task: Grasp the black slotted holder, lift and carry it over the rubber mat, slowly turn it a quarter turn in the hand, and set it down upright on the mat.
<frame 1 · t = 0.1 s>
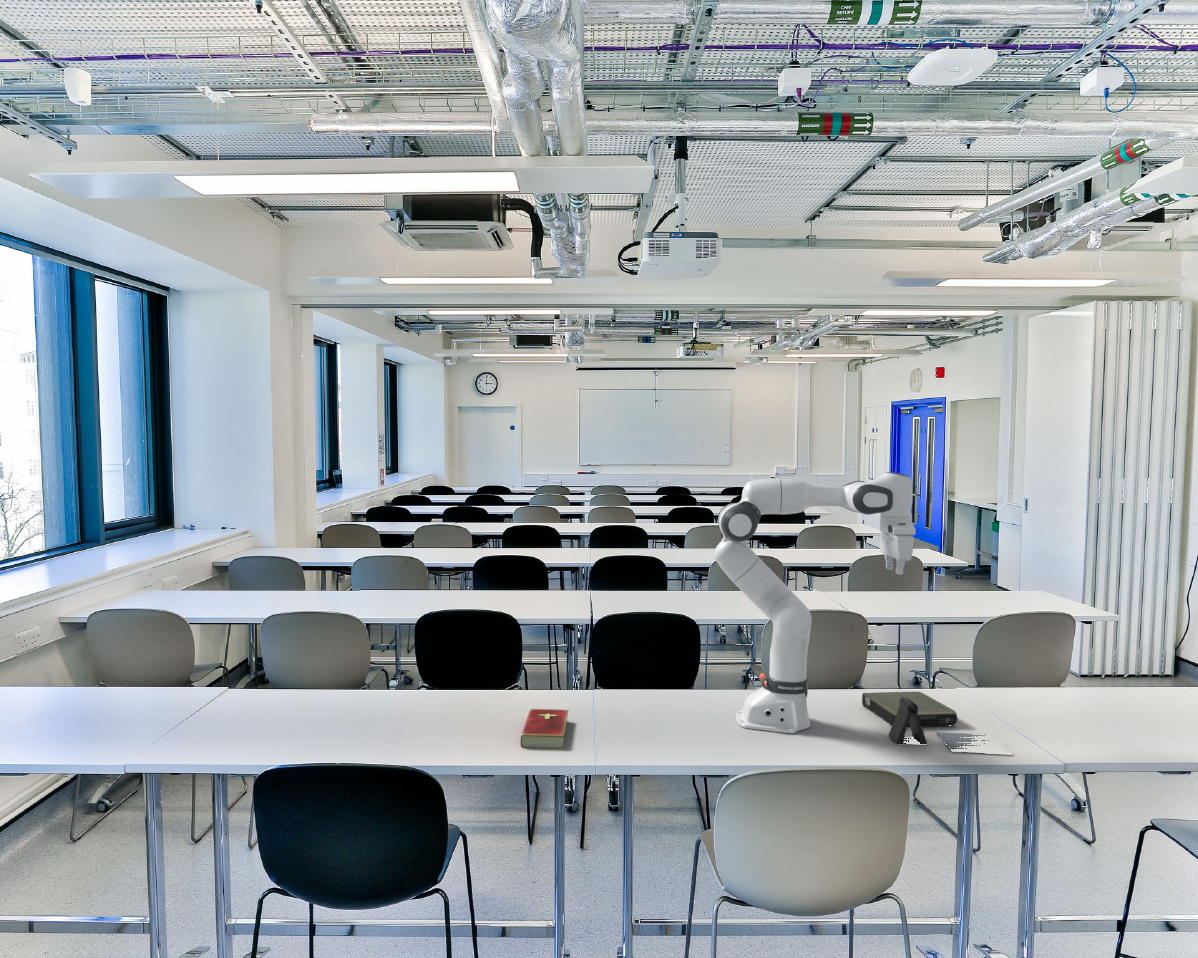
hand: (894, 571, 225), 48 cm above the table, fingers open, 8 cm apart
rubber mat: (971, 744, 215), on the table
hardcover book: (545, 735, 218), on the table
network switch: (908, 717, 238), on the table
black slotted holder: (907, 741, 217), on the table
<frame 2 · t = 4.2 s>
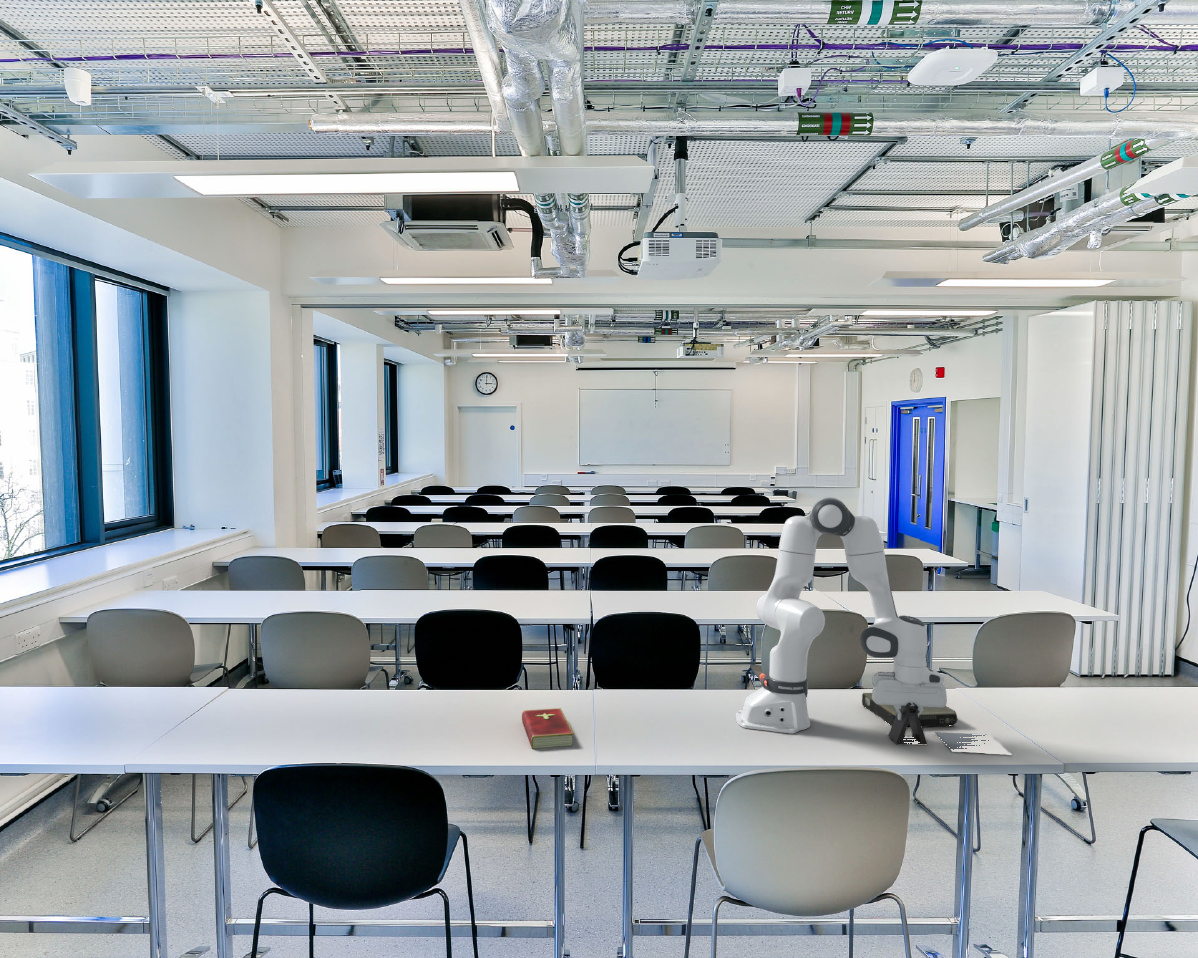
hand: (908, 720, 216), 6 cm above the table, fingers closed on black slotted holder, 3 cm apart
black slotted holder: (907, 741, 217), on the table, touching gripper
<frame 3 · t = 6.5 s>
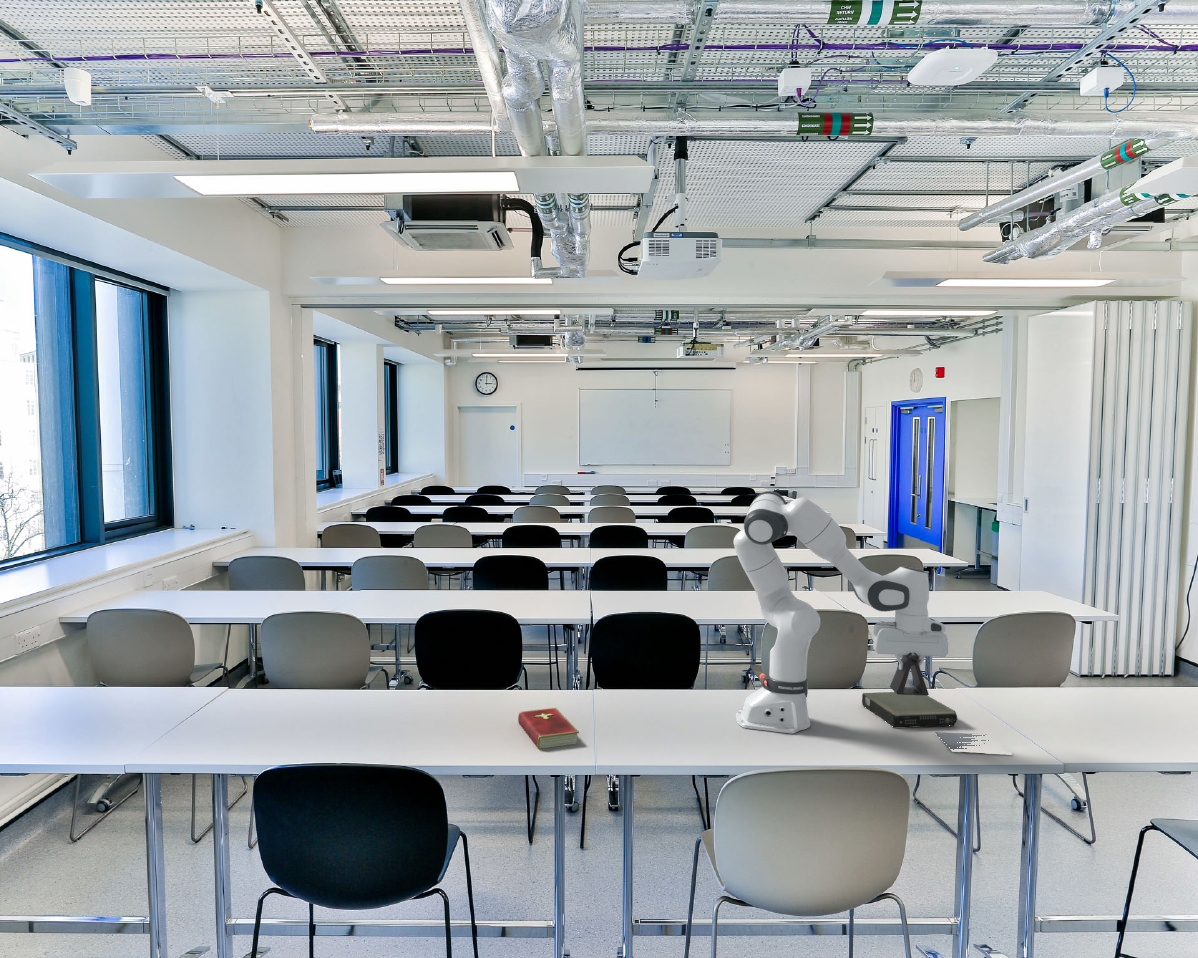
hand: (909, 669, 216), 21 cm above the table, fingers closed on black slotted holder, 2 cm apart
black slotted holder: (908, 692, 216), point 14 cm above the table, touching gripper
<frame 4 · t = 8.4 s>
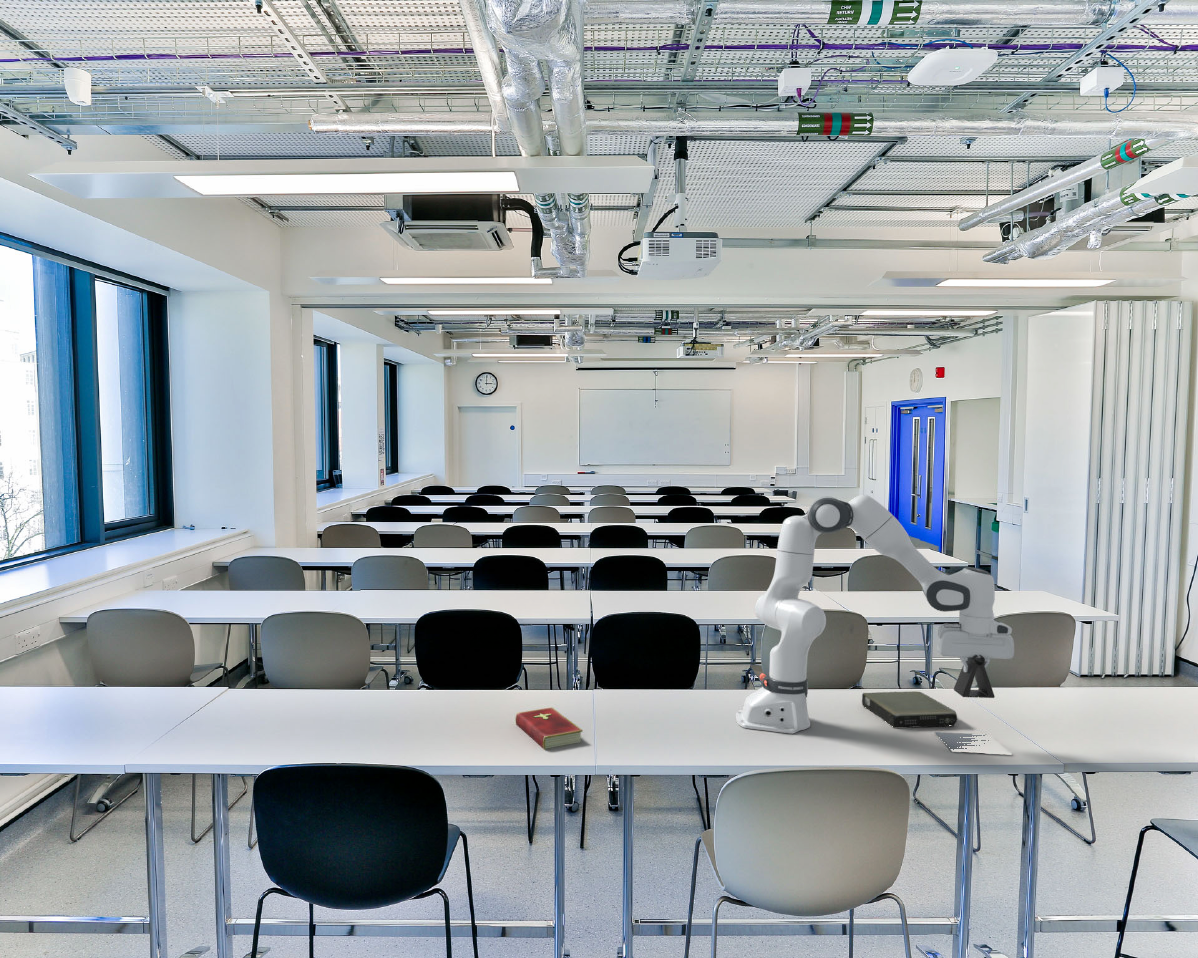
hand: (974, 672, 214), 21 cm above the table, fingers closed on black slotted holder, 2 cm apart
black slotted holder: (973, 694, 214), point 14 cm above the table, touching gripper
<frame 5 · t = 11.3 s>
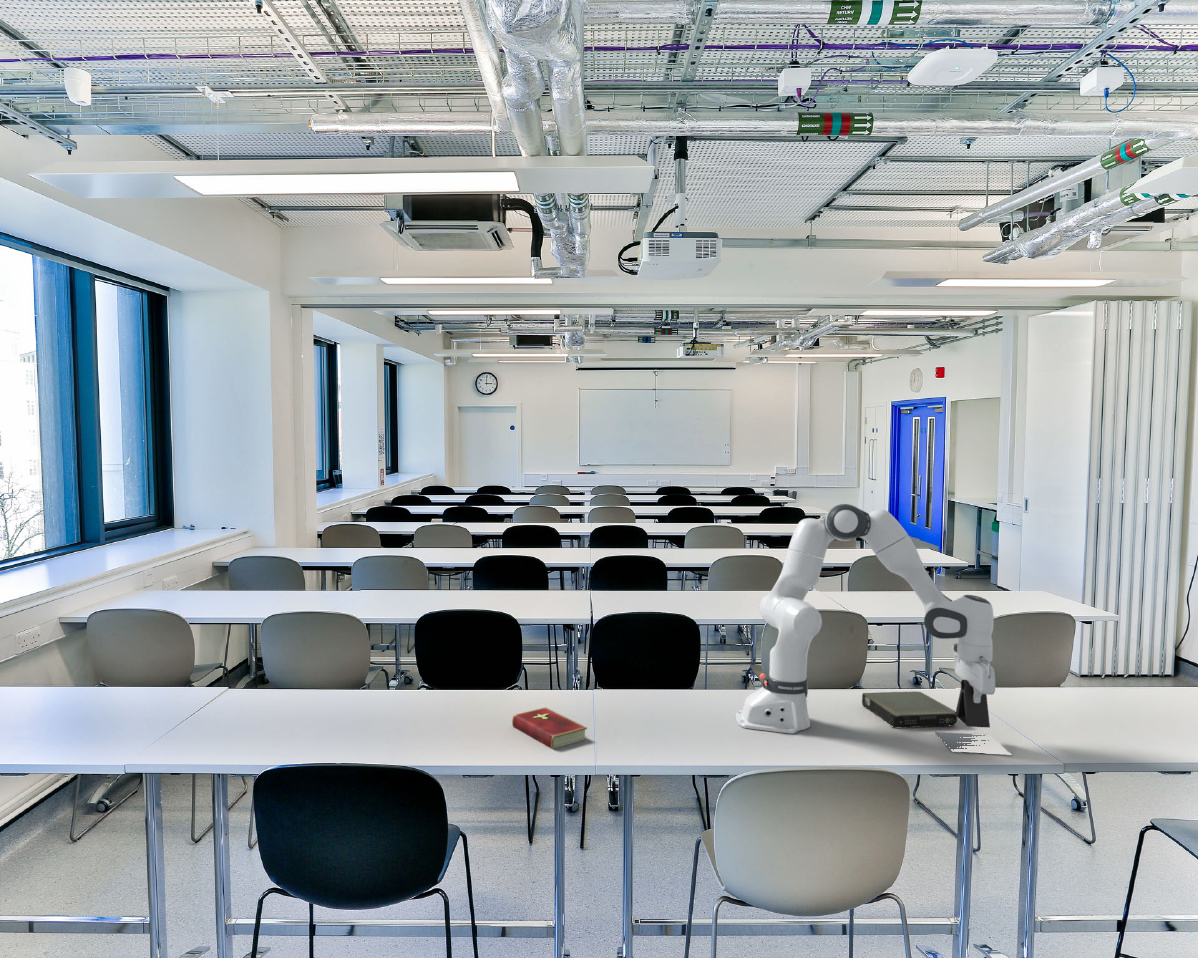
hand: (973, 699, 215), 13 cm above the table, fingers closed on black slotted holder, 2 cm apart
black slotted holder: (972, 722, 215), point 6 cm above the table, touching gripper
when the fingers open (7 cm above the table, at t = 14.2 s): black slotted holder stays where it is, resting on rubber mat.
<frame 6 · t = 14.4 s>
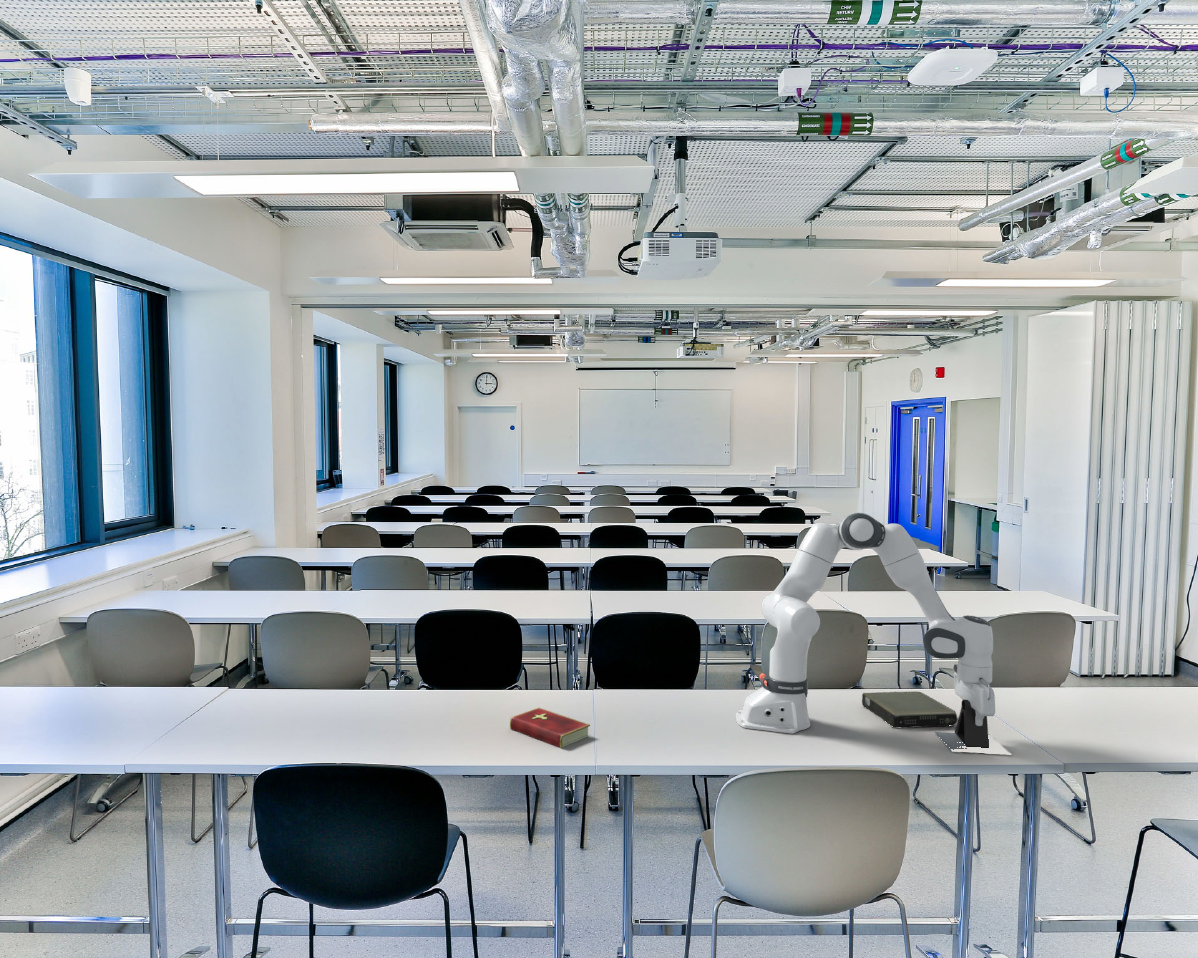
hand: (973, 720, 215), 7 cm above the table, fingers open, 5 cm apart
black slotted holder: (971, 740, 215), point 1 cm above the table, touching rubber mat
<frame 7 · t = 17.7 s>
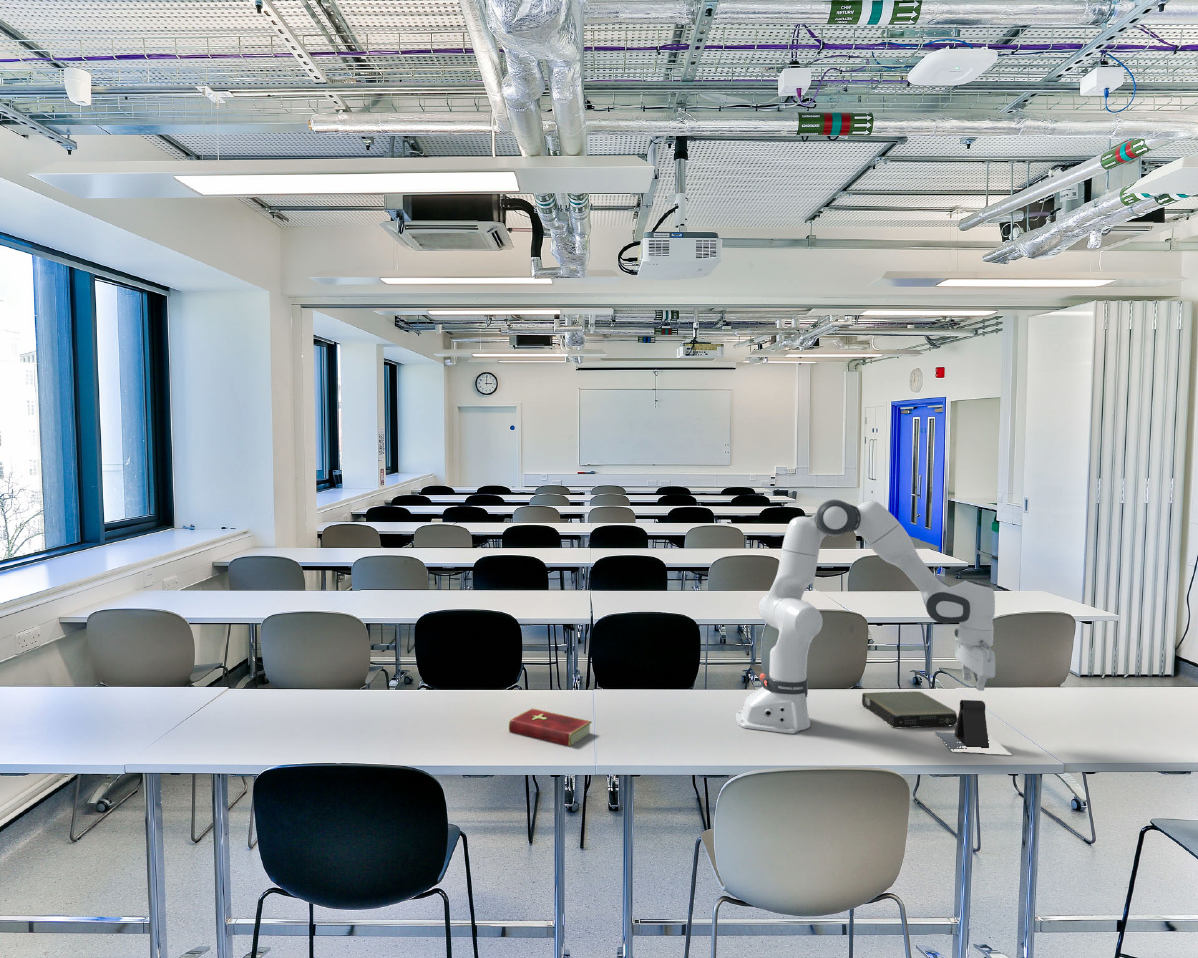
hand: (973, 684, 214), 17 cm above the table, fingers open, 8 cm apart
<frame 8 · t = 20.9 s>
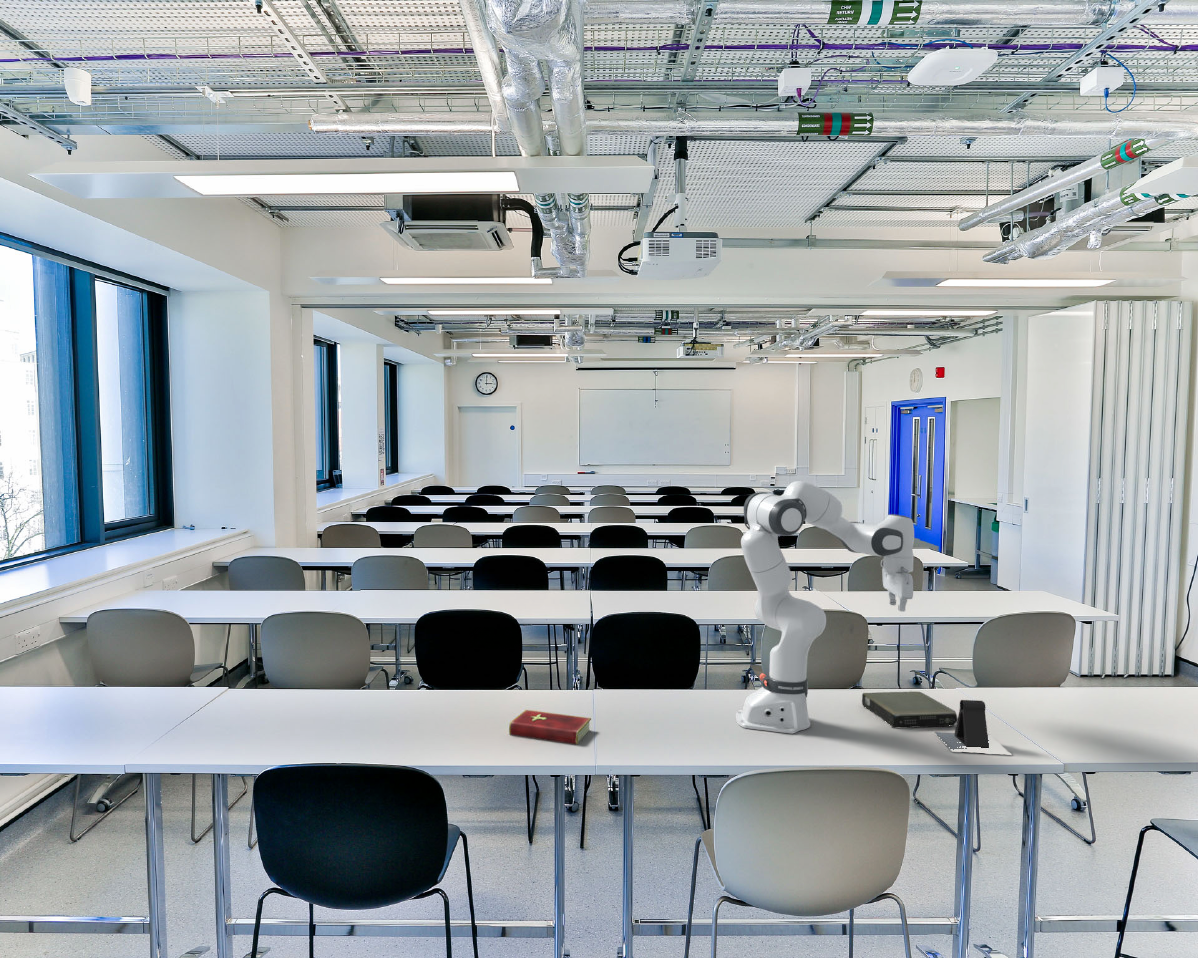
hand: (897, 607, 239), 34 cm above the table, fingers open, 8 cm apart
at the end: black slotted holder inside the target area on the rubber mat (0.3 cm from its centre), point 0.4 cm above the rubber mat's base; black slotted holder tilted 0°; the gripper is holding nothing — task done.
